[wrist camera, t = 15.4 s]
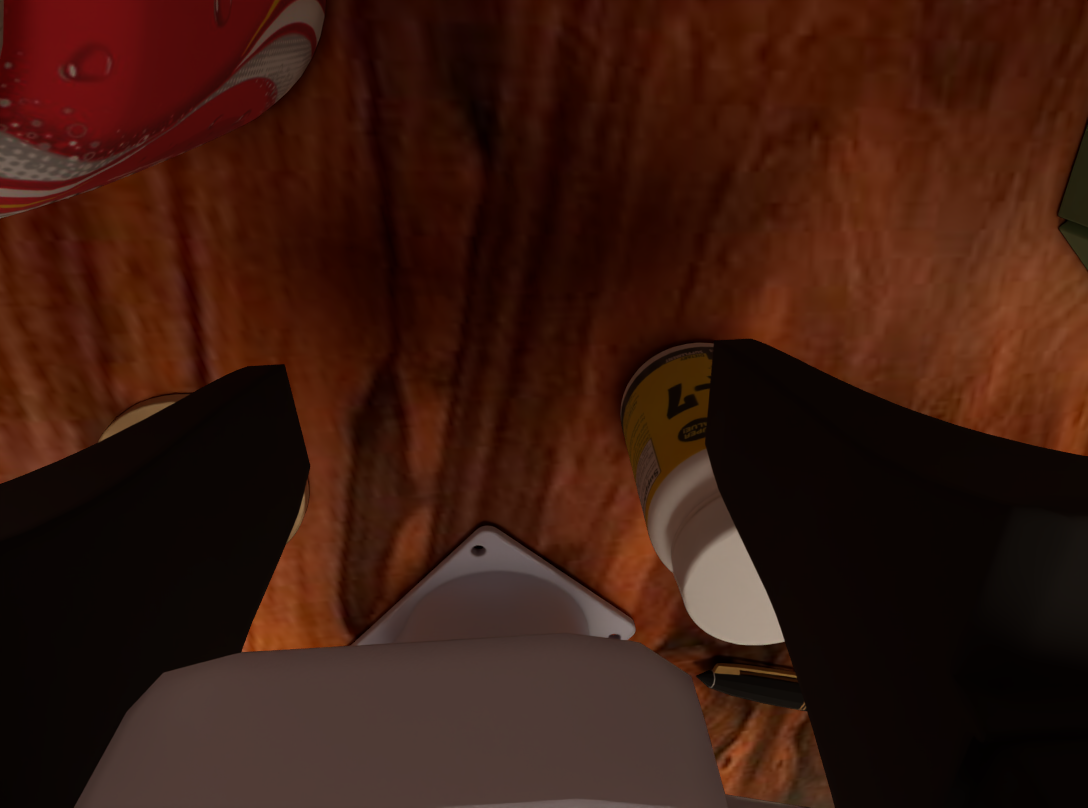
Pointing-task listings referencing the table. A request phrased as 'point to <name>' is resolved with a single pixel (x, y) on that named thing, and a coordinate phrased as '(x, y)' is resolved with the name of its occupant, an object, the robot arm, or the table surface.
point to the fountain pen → (756, 684)
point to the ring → (1077, 204)
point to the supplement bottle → (691, 497)
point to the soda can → (135, 84)
